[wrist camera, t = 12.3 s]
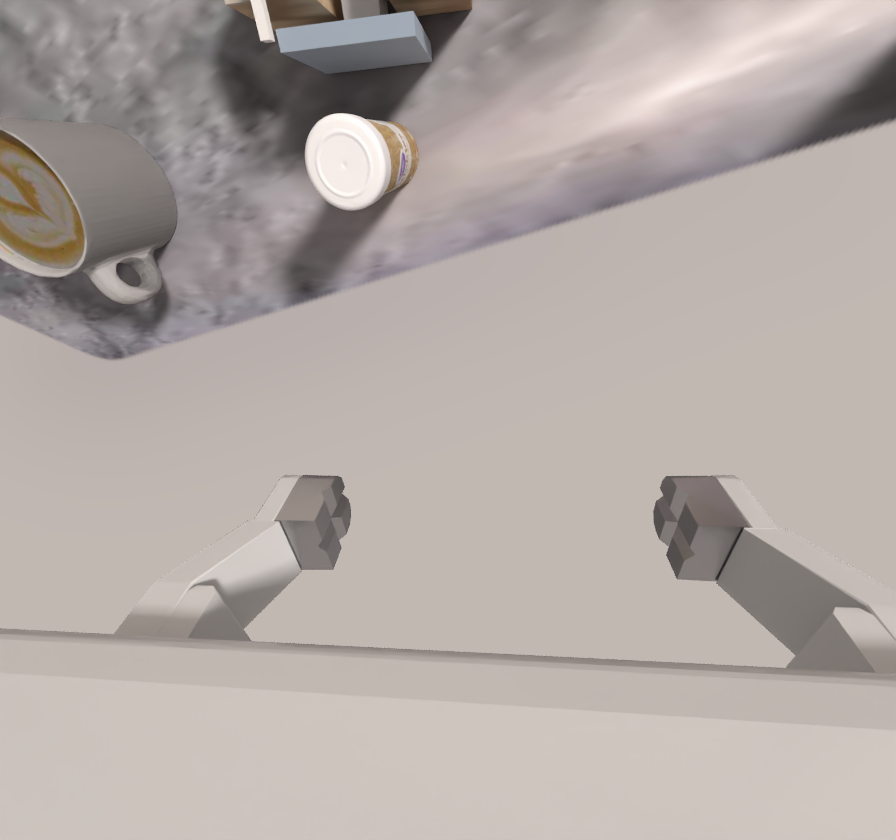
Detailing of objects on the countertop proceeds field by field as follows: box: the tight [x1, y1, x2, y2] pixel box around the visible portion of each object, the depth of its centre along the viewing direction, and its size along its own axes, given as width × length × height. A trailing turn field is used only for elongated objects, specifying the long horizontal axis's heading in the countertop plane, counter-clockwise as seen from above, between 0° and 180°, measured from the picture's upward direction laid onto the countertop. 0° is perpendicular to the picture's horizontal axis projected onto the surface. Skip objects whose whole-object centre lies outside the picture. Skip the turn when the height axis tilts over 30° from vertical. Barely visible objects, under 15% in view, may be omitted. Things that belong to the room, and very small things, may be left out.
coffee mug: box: [0, 118, 177, 304], centre depth 33 cm, size 13×10×10 cm
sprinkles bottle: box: [305, 113, 419, 211], centre depth 27 cm, size 5×5×13 cm
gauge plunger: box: [250, 0, 432, 74], centre depth 25 cm, size 9×5×8 cm, turn 94°
